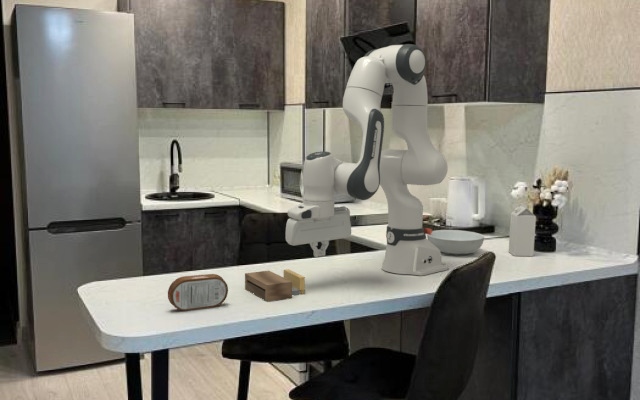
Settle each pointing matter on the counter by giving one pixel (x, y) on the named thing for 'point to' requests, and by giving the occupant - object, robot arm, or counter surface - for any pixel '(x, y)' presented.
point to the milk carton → (522, 232)
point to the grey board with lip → (295, 282)
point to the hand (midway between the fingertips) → (319, 256)
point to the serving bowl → (456, 241)
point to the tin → (197, 292)
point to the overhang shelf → (268, 285)
